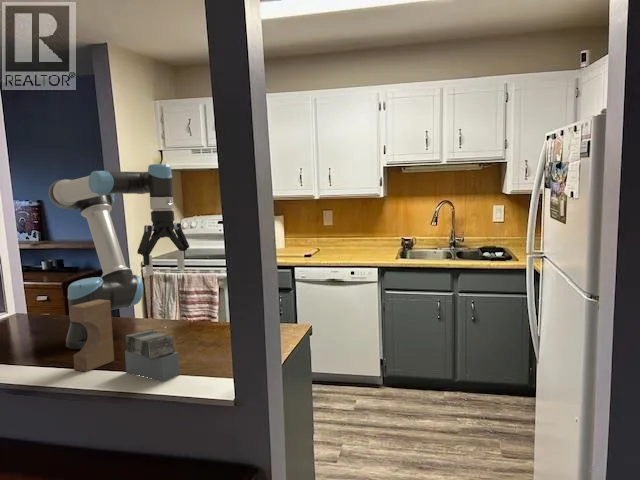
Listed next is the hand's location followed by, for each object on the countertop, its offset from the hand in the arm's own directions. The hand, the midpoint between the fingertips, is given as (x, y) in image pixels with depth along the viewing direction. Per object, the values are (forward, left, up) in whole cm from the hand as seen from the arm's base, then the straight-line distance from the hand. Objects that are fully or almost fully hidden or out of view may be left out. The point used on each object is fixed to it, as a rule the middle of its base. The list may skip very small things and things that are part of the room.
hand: (165, 271), depth 168 cm
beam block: (+16, -20, -27) cm, 37 cm away
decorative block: (-7, -24, -27) cm, 37 cm away
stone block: (+16, -20, -20) cm, 33 cm away
